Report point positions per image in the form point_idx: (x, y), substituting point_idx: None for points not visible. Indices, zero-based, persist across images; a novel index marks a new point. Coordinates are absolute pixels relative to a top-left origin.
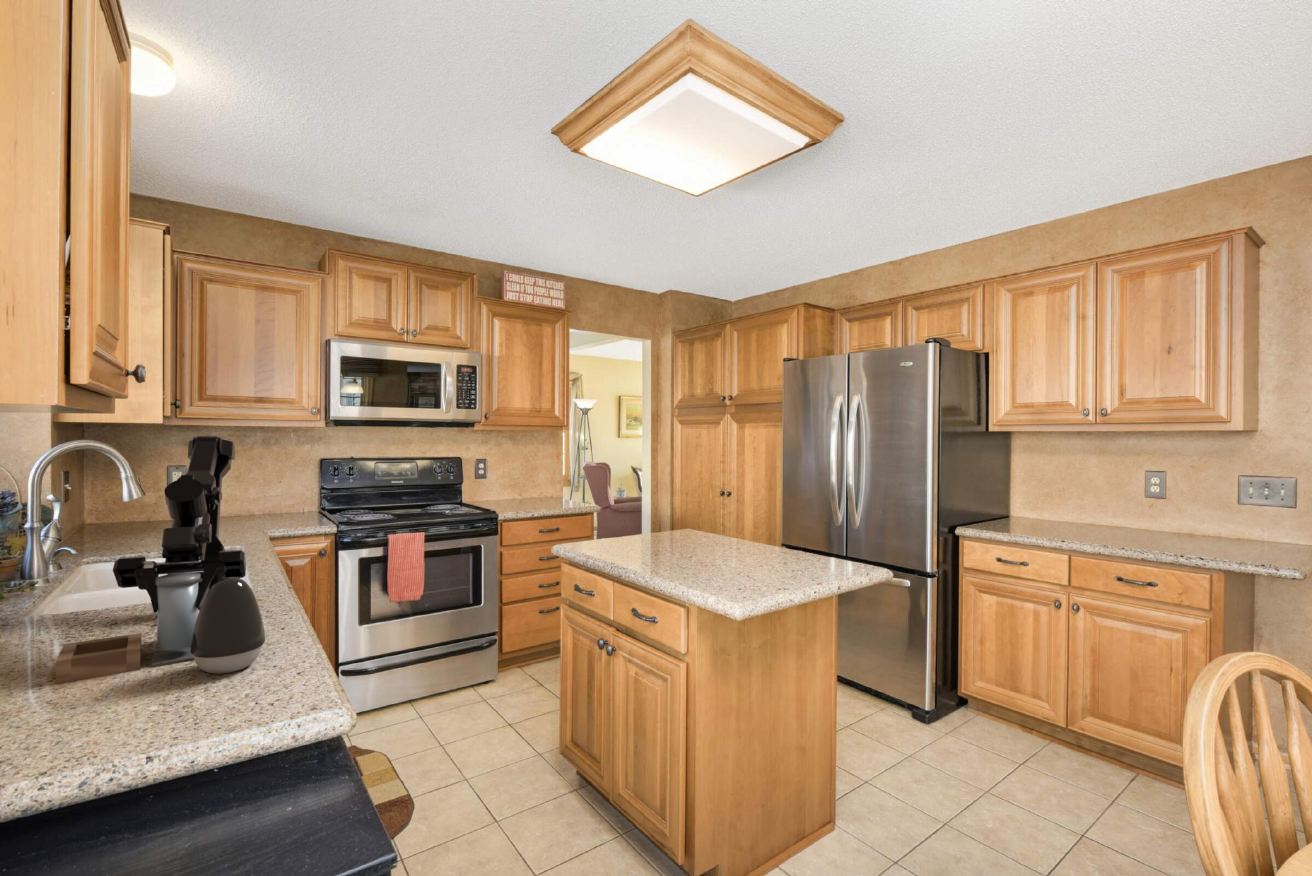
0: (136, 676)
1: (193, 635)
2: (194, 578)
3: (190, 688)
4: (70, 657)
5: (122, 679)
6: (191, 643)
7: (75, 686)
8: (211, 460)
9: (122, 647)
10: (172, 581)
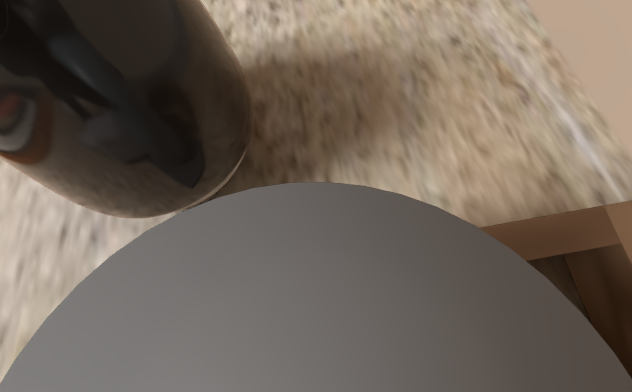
0: (392, 189)
1: (229, 50)
2: (75, 304)
3: (257, 53)
4: (617, 225)
5: (420, 180)
6: (243, 76)
7: (517, 176)
8: None
9: None
10: (342, 187)
